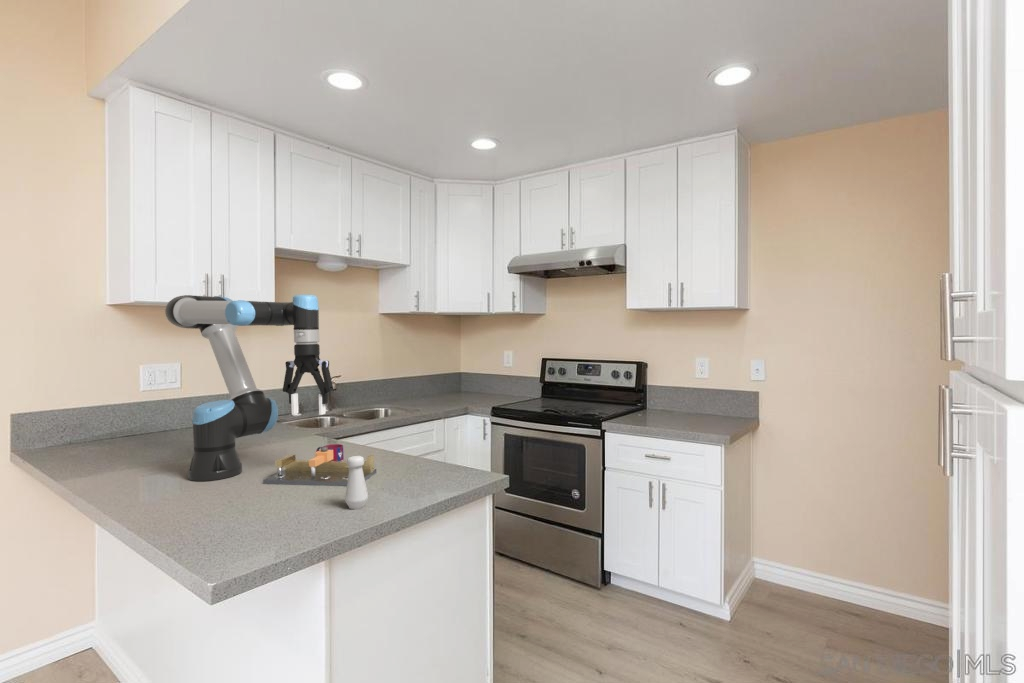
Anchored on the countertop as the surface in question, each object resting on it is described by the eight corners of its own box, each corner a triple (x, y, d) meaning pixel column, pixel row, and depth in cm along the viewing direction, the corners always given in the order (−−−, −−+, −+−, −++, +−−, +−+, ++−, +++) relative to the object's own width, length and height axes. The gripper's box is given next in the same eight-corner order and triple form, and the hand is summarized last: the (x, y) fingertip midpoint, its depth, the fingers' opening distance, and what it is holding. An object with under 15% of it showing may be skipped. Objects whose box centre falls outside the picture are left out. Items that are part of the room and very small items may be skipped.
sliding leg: (306, 476, 156) (305, 453, 156) (322, 467, 166) (321, 445, 165) (318, 476, 156) (317, 453, 155) (333, 467, 165) (333, 446, 165)
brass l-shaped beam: (272, 476, 158) (272, 460, 158) (289, 468, 167) (289, 453, 166) (362, 478, 154) (361, 462, 154) (374, 470, 163) (373, 454, 162)
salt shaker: (360, 501, 137) (358, 452, 137) (372, 505, 133) (371, 456, 133) (340, 507, 133) (339, 457, 132) (353, 512, 129) (352, 460, 129)
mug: (333, 469, 169) (332, 449, 169) (311, 466, 173) (310, 446, 173) (347, 464, 175) (347, 445, 175) (326, 462, 179) (325, 442, 179)
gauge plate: (263, 483, 155) (263, 479, 154) (289, 470, 168) (289, 466, 168) (357, 486, 150) (357, 481, 150) (376, 472, 164) (376, 468, 164)
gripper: (268, 344, 161) (270, 415, 161) (332, 343, 158) (334, 416, 159) (282, 343, 168) (284, 411, 169) (344, 342, 165) (345, 412, 166)
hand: (308, 414), depth 164 cm, fingers open, 9 cm apart
